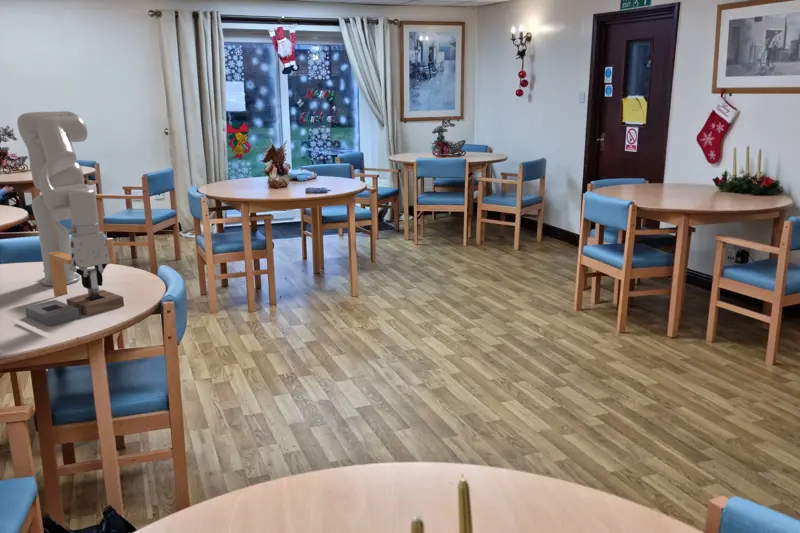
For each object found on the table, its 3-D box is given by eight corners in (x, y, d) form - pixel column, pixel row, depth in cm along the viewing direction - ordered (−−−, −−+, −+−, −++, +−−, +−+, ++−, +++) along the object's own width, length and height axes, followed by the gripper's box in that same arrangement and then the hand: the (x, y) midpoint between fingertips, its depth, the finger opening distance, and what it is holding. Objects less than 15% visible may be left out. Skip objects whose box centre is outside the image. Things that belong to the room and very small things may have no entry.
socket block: (68, 311, 214) (66, 298, 212) (103, 301, 223) (102, 289, 222) (88, 319, 207) (86, 306, 205) (124, 308, 216) (123, 296, 215)
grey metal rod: (87, 300, 214) (83, 269, 211) (96, 297, 216) (93, 267, 213) (92, 302, 212) (88, 271, 209) (102, 300, 214) (98, 269, 212)
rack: (27, 319, 206) (25, 307, 205) (56, 311, 213) (55, 299, 212) (50, 329, 198) (48, 316, 197) (80, 321, 205) (78, 308, 204)
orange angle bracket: (53, 296, 227) (47, 253, 223) (63, 293, 230) (58, 251, 226) (74, 304, 219) (68, 260, 215) (85, 301, 222) (79, 257, 218)
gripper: (65, 236, 199) (73, 295, 204) (117, 226, 212) (123, 282, 217) (53, 232, 204) (61, 290, 209) (104, 222, 216) (110, 278, 221)
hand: (93, 285), depth 213 cm, fingers closed on grey metal rod, 3 cm apart
